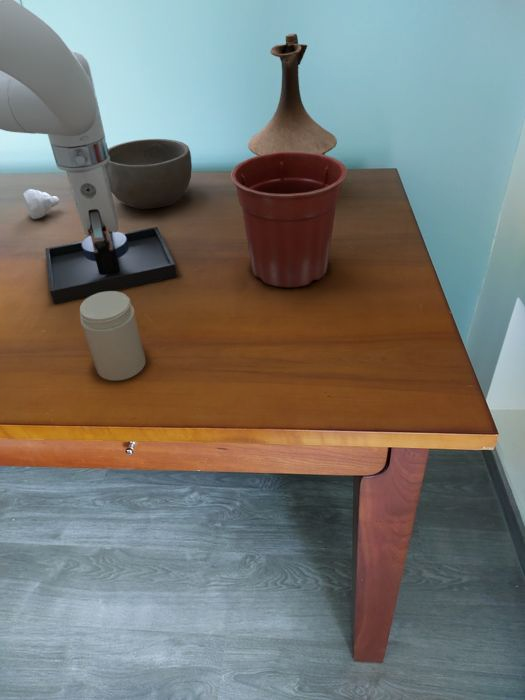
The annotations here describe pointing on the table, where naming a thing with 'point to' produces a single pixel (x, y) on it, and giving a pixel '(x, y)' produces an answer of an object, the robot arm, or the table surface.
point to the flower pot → (289, 213)
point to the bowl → (149, 172)
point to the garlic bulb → (39, 203)
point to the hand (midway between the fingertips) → (108, 260)
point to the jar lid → (118, 243)
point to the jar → (112, 335)
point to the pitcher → (291, 112)
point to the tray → (135, 269)
